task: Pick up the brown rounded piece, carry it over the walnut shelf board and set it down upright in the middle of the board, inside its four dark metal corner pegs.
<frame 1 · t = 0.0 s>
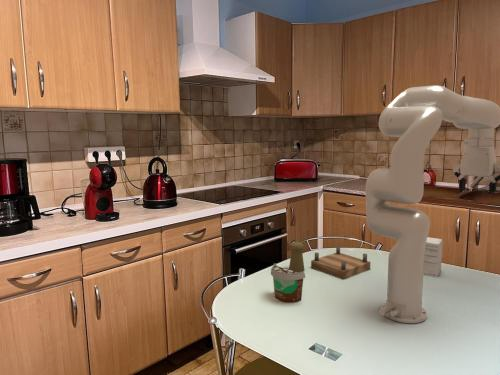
hand: (476, 192, 139), 31 cm above the table, tool pointing down, fingers open, 9 cm apart
shelf board: (340, 268, 154), on the table
supplement box: (428, 272, 149), on the table
food container: (283, 299, 127), on the table
brown rounded piece: (296, 270, 153), on the table
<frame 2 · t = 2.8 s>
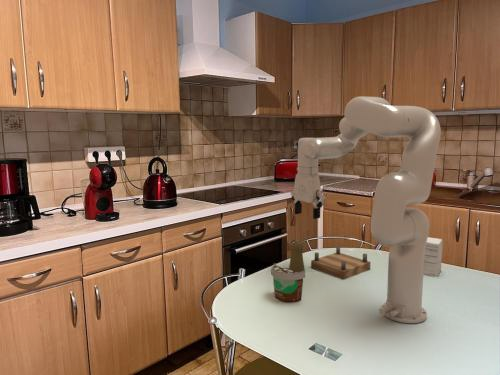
hand: (307, 215, 149), 21 cm above the table, tool pointing down, fingers open, 9 cm apart
nothing on the table moved.
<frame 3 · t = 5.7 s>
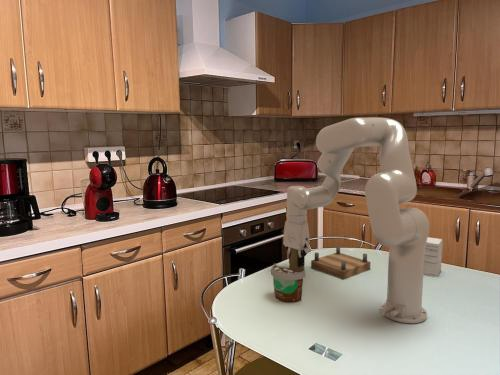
hand: (296, 264, 152), 2 cm above the table, tool pointing down, fingers closed on brown rounded piece, 3 cm apart
brown rounded piece: (296, 270, 153), on the table, touching gripper
everything else where it was.
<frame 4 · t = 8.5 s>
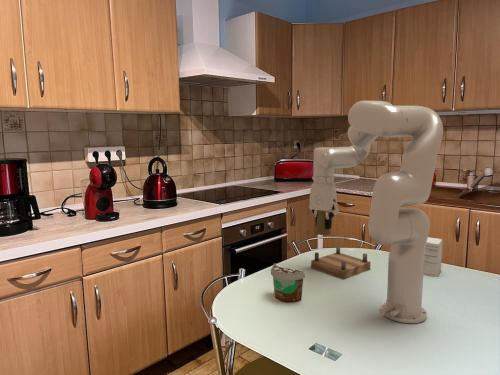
hand: (323, 227, 151), 17 cm above the table, tool pointing down, fingers closed on brown rounded piece, 3 cm apart
brown rounded piece: (323, 233, 151), point 14 cm above the table, touching gripper
everything else where it was.
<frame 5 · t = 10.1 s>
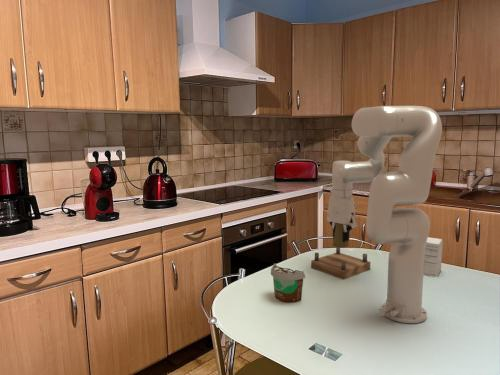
hand: (340, 239, 152), 12 cm above the table, tool pointing down, fingers closed on brown rounded piece, 3 cm apart
brown rounded piece: (340, 245, 153), point 9 cm above the table, touching gripper
everything else where it was.
when the fingers open (7 cm above the table, at t = 11.3 s): brown rounded piece drops 1 cm, resting on shelf board.
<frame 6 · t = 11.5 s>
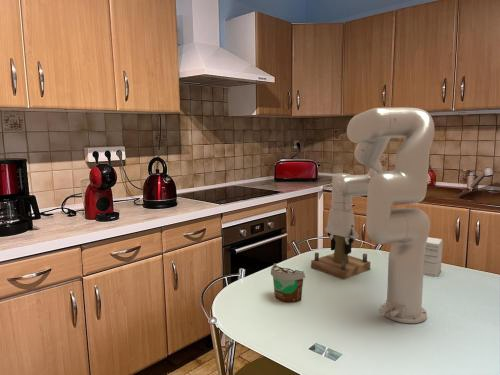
hand: (340, 251, 153), 7 cm above the table, tool pointing down, fingers open, 6 cm apart
brown rounded piece: (340, 261, 153), point 3 cm above the table, touching shelf board
everything else where it was.
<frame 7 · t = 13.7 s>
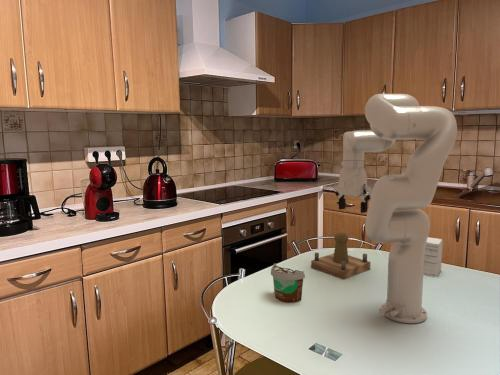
hand: (352, 210, 148), 23 cm above the table, tool pointing down, fingers open, 9 cm apart
nothing on the table moved.
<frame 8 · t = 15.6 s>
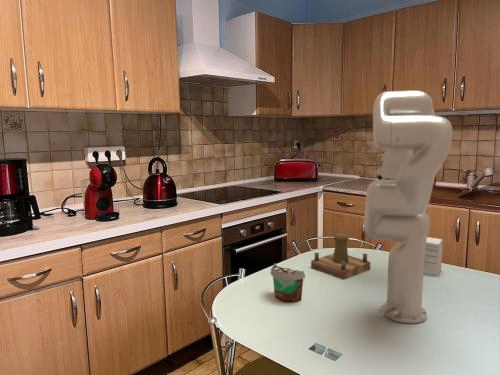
hand: (397, 195, 140), 30 cm above the table, tool pointing down, fingers open, 9 cm apart
nothing on the table moved.
at the end: brown rounded piece 0.1 cm off-centre on the shelf board, point 2.8 cm above the shelf board's base; brown rounded piece tilted 0°; the gripper is holding nothing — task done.
